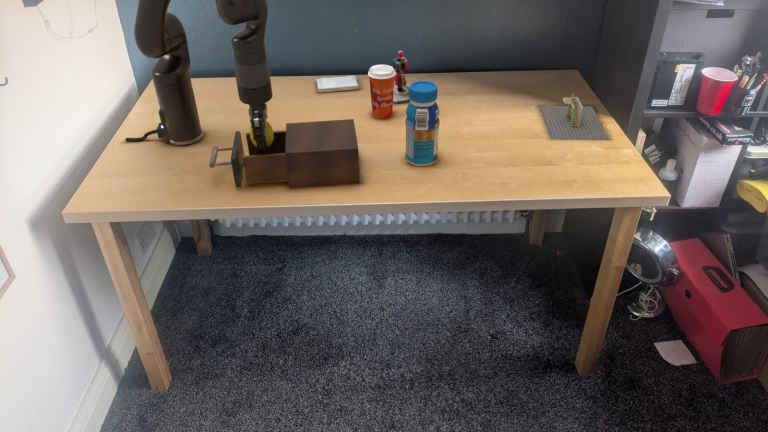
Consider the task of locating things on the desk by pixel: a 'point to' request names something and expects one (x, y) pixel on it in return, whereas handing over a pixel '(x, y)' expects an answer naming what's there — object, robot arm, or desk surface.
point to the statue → (400, 80)
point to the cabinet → (322, 153)
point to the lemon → (268, 133)
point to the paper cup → (382, 90)
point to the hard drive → (337, 84)
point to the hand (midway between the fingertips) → (263, 145)
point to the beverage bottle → (422, 124)
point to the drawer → (256, 160)
